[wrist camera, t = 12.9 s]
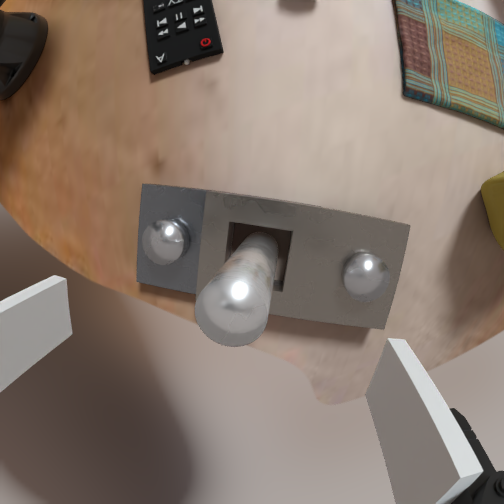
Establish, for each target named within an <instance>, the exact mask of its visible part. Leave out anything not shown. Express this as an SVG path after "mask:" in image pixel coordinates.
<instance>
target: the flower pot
mask: <svg viewBox="0 0 504 504" xmlns="http://www.w3.org/2000/svg"><path fill="white" fill-rule="evenodd" d="M481 194H482V198H483V201H484V204H485V208H486V212H487V216H488V219H489V224H490V228H491V230H492V233H493V235H494V237H495V239H496V241H497V242H498V244H499V245H500V247H501V248H502V249H503V250H504V171H503V172H502V173H500V174H498V175H496V176H494V177H492V178H490V179H488V180H487V181H485V182H484V183H483V185H482V187H481Z"/></svg>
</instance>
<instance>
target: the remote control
mask: <svg viewBox="0 0 504 504" xmlns="http://www.w3.org/2000/svg"><path fill="white" fill-rule="evenodd" d="M144 13H145V24H146V35H147V45H148V54H149V62H150V71H151V73H153V74H154V75H155V74H157V73H160V72H163V71H165V70H168V69H171V68H174V67H177V66H180V65H182V63H183V62H184V64H185V65H188V64H189V60H192V61H195V60H199V59H202V58H205V57H209V56H212V55H216V54H220V53H224V52H223V47H222V43H221V39H220V34H219V30H218V26H217V21H216V17H215V13H214V8H213V4H212V0H144Z"/></svg>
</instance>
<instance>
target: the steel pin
mask: <svg viewBox="0 0 504 504" xmlns="http://www.w3.org/2000/svg"><path fill="white" fill-rule="evenodd" d="M277 258H278V244H277V242H276V240H275V239H274V238H273V237H272V236H271V235H269V234H268V233H265V232H255V233H252V234H250V235H249V236H248V237H247V238H246V239H245V240H244V241H243V242H242V243H241V245H240V246H239V247H238V248H237V249H236V251H235V252H234V253H233V254H232V255H231V257H230V258H229V259H228V260H227V261H226V262H225V264H224V265H223V266H222V267H221V268H220V270H219V271H218V272H217V273H216V274H215V276H214V277H213V278H212V279H211V280H210V282H209V283H208V284H207V285H206V286H205V288H204V289H203V290H202V291H201V293H200V294H199V296H198V298H197V300H196V304H195V317H196V320H197V323H198V325H199V327H200V329H201V330H202V331H203V332H204V334H206V336H207V337H209V338H210V339H211V340H213V341H215V342H217V343H219V344H221V345H225V346H231V347H238V346H244V345H247V344H250V343H251V342H253V341H255V340H256V339H257V338H258V337H259V336H260V335H261V334H262V333H263V331H264V329H265V327H266V324H267V320H268V314H269V308H270V302H271V296H272V289H273V283H274V277H275V271H276V264H277Z"/></svg>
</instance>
